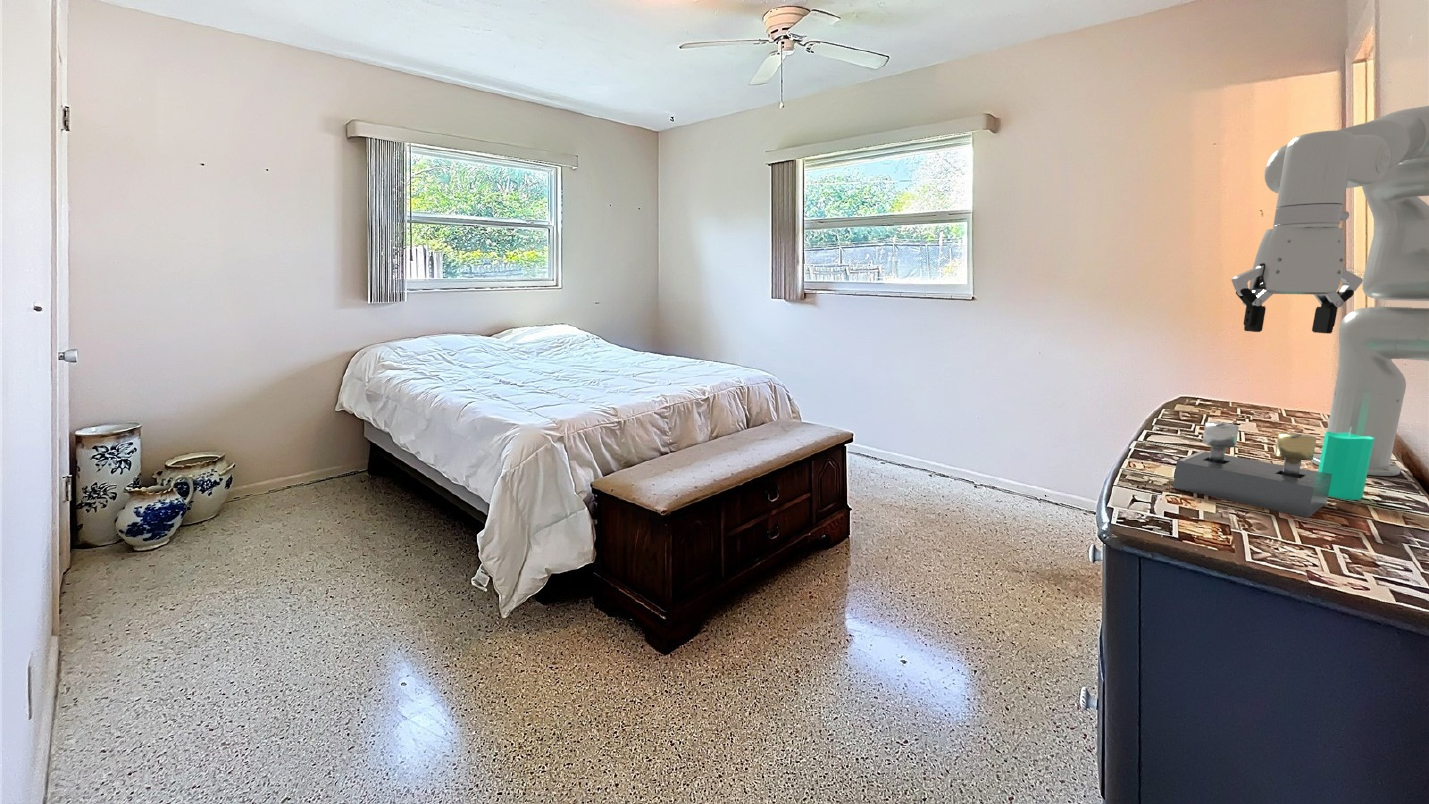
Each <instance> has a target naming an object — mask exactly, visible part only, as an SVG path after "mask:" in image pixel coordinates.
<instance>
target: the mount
mask: <svg viewBox="0 0 1429 804" xmlns="http://www.w3.org/2000/svg"><path fill="white" fill-rule="evenodd" d="M1209 458H1210V451H1204V450H1200V451H1197V452H1195V453H1192V454H1191V455H1188V456H1186V457H1183V458H1180V459H1179V460H1176V463H1175V464H1176V465H1175V473H1174V478H1173V485H1172V486H1173V487H1172V489H1175V488H1176V489H1175V490H1179V489H1180V490H1179V491H1184V490H1185V492H1188V491H1190V492H1189V493H1193V492H1194V494H1196V495H1197V494H1198V495H1202V494H1204V495H1203V496H1206V495H1207V497H1211V498H1216V499H1220V500H1225V501H1229V502H1234V503H1239V504H1243V505H1247V506H1252V507H1256V508H1262V509H1265V510H1270V511H1274V512H1279V513H1282V514H1287V515H1292V516H1296V517H1302V518H1304V519H1305V518H1306V519H1309V518H1310V517H1311V516H1312V515H1314V514H1315V513H1316V512H1318V511H1319V510H1320V509H1321V508H1322V507H1324V506H1325V505H1326V504H1327V503H1328V499H1329V496H1328V494H1329V489H1330V484H1331V478H1332V474H1329V473H1324V472H1318V471H1317V470H1311V469H1305V468H1301V467H1300V471H1299V476H1298V478H1296V477H1290V476H1285V475H1282V472H1283V467H1284V464H1278V463H1277V464H1276V463H1272V462H1267V461H1262V460H1261V461H1260V460H1255V459H1250V458H1249V459H1248V458H1245V457H1244V458H1243V457H1239V456H1234V455H1226V454H1225V455H1224V462H1223V464H1221V463H1215V462H1210V461H1209Z"/></svg>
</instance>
